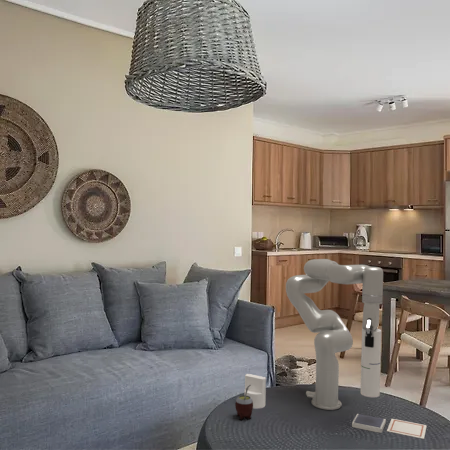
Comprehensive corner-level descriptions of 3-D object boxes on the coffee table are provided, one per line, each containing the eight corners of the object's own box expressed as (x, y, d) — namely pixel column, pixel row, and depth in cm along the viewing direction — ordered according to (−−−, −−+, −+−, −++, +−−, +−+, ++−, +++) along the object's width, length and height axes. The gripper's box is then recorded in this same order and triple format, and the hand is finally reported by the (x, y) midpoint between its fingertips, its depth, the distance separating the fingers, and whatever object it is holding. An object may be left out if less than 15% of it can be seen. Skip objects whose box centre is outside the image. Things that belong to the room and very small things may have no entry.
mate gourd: (240, 412, 198) (240, 376, 198) (257, 416, 195) (258, 379, 195) (231, 419, 192) (232, 381, 192) (249, 423, 188) (250, 384, 188)
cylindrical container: (380, 398, 184) (382, 332, 184) (361, 396, 186) (362, 331, 186) (378, 391, 191) (380, 328, 191) (359, 389, 193) (361, 327, 193)
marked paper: (386, 431, 184) (386, 430, 184) (391, 419, 195) (391, 418, 195) (423, 438, 178) (424, 438, 178) (426, 425, 189) (426, 425, 189)
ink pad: (351, 426, 187) (352, 422, 187) (357, 417, 196) (357, 412, 196) (381, 433, 182) (381, 428, 182) (385, 423, 191) (385, 418, 191)
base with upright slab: (269, 403, 209) (269, 375, 209) (259, 410, 201) (259, 381, 201) (250, 399, 214) (251, 371, 214) (240, 405, 206) (241, 377, 206)
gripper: (366, 295, 198) (365, 338, 198) (357, 301, 182) (356, 348, 182) (385, 296, 194) (384, 341, 195) (378, 303, 179) (377, 351, 179)
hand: (371, 344), depth 188 cm, fingers closed on cylindrical container, 7 cm apart
